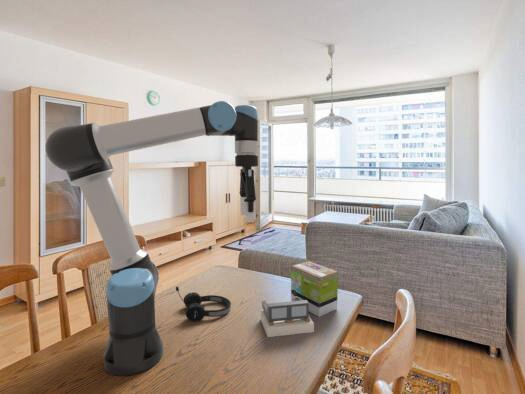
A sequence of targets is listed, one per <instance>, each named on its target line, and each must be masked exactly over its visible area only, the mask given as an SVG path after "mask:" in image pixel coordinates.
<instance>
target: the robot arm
mask: <svg viewBox="0 0 525 394" xmlns="http://www.w3.org/2000/svg"><path fill="white" fill-rule="evenodd" d="M258 116H259V114H258V109H257V107H255V106H254V105H250V104H244V105H243V104H241V105H239V104H238V105H237V106H235V107H234V106H233V104H231V103H229V102H228V101H225V100H218V101H216V102H213V103H211V105H205V106H200V107H194V108H193V107H192V108H188V109H183V110H178V111H173V112H168V113H163V114H162V113H161V114H156V115H152V116H147V117H146V116H145V117H141V118H136V119H130V120H125V121H120V122H114V123H110V124H109V123H108V124H104V125H100V124H98V123H96V122H91V123H86V124H78V125H69V126H62V127H59V128H58V129H55V130H53V131H52V132H51V134H49V136H48V138H47V139H46V142H45V153H46V156H47V158H48V160H49V161H50V162H51V163H52V164H53V165H54V166H55V167H57V168H59V170H63V171H65V172H66V174H67V176H68V178H69V181H70V182H71V183H72V184H74V185H76V186H78V187H79V188H80V191H81V193H82V195H83V197H84V200H85V202H86V205H87V206H88V207H87V208H88V209H89V212H90V214H91V216H92V218H93V221H94V223H95V225H96V227H97V228H96V229H98V232H99V234H100V237H101V239H102V242H103V243H104V246H105V248H106V251H107V252H108V254H109V257H110V261H111V262H110V265H109V267H108V269H109V272H110V274H111V276H110V277H109V279H108V280H107V283H106V289H105V296H106V301H107V302H106V303H107V304H106V305H107V319H108V320H107V323H108V334H109V336H108V339H107V343H106V346H105V350H104V353H103V358H102V359H103V368H104V370H105V371H106V373H108V374H111V375H114V376H124V377H125V376H131V375H136V374H139V373H141V372H144V371H146V370H149V369H151V368H152V367H153V366H155V365H156V364H157V363H158V362H159V361H160V360H161V359H162V357H163V355H164V344H163V340H162V338H161V336H160V333H159V331H158V329H157V326H156V311H155V310H156V309H155V308H156V305H155V300H156V293H157V292H156V291H157V287H158V284H159V270H158V268H157V266H156V264H155V263H154V262H153V261H152V260H151V257H150V255H149V253H148V251H147V250H144V249H141V247H140V245H139V242H138V240H137V238H136V235H135V232H134V231H133V227H132V225H131V223H130V221H129V218H128V215H127V214H126V211H125V208H124V206H123V204H122V201H121V199H120V196H119V194H118V191H117V189H116V187H115V184H114V182H113V180H112V179H113V178H112V175H113V172H114V167H113V165H112V163H111V159H110V157H111V156H113V155H119V154H123V153H128V152H134V151H137V150H142V149H147V148H151V147H155V146H161V145H166V144H170V143H175V142H179V141H183V140H189V139H193V138H198V137H199V138H200V137H203V136H205V137H206V136H207V137H211V136H213V137H214V136H215V137H217V136H219V137H222V136H224V137H226V136H230V137H234V153H235V154H236V155H235V157H234V162H235V164H234V165H235V167H239V168H240V167H241V169H239V175H240V180H239V181H240V182H239V195H240V200H239V201H240V204H239V205H240V216H245V223H249V224H250V223H255V221H256V220H255V218H256V216H255V212H256V211H255V209H256V208H255V207H256V203H255V202H256V200H257V197H256V188H255V187H256V185H255V170H254V169H252V167H254V168H255V167H256V168H257V167H258V166H259V156H258V155H257V154H258V153H259V148H260V144H258V141H259V139H258V136H259V131H258V130H259V119H258V118H259V117H258ZM71 183H70V184H71Z"/></svg>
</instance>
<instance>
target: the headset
mask: <svg viewBox="0 0 525 394" xmlns="http://www.w3.org/2000/svg"><path fill="white" fill-rule="evenodd" d="M175 290H176V292H177V293H178V296H179V297H180V299H181V300H182V302H183V304H184V306H185V307H186V310H185V317H186V318H187V319H188V320H189V321H190V322H198V321H202V320H203V319H204V317H206V318H207V317H208V318H209V317H211V318H215V317H216V318H218V317H224V316H226V315H227V314H230V311H231V304H232V303H231V301H230V299H228V298H227V297H225V296H222V295H215V294H214V295H210V294H209V295H200V294H199V293H198V292H194V291H193V292H188V293H187V294H186V295H185V296H184V297H183V298H182V296H181V294H180V292H179V291H180V289H179V286H176V287H175ZM203 302H204V303H205V302H215V303H220V304H222V305H224V306H226V307H224V308H220V309H213V310H212V309H209V310H208V309H206V308H205V307H204V305H202V303H203Z"/></svg>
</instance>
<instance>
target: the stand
mask: <svg viewBox="0 0 525 394" xmlns="http://www.w3.org/2000/svg"><path fill="white" fill-rule="evenodd" d="M260 320H261V324H262V326H263V329H264V332H265V334H266V338H273V337H274V338H275V337H281V336H291V335H299V334H309V333H314V332H315V322H314V321H313V319H312V318H311V316H309V318H303V319H294V320H285V321H275V322H268V319H267V317H266V315H265V312H264V310H261V311H260Z"/></svg>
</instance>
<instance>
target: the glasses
mask: <svg viewBox="0 0 525 394" xmlns="http://www.w3.org/2000/svg"><path fill="white" fill-rule="evenodd" d="M261 307H262V311H264V312H265V315H266V317H267V319H268V322H275V321H285V320H294V319H303V318H309V317H310V315H309V313H310V312H309V303H308V301H307V300H301V301H300V299H299V298H295V301H291V300H290V301H281V302H280V301H279V302H272V303H267V301H266V300H261Z"/></svg>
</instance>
